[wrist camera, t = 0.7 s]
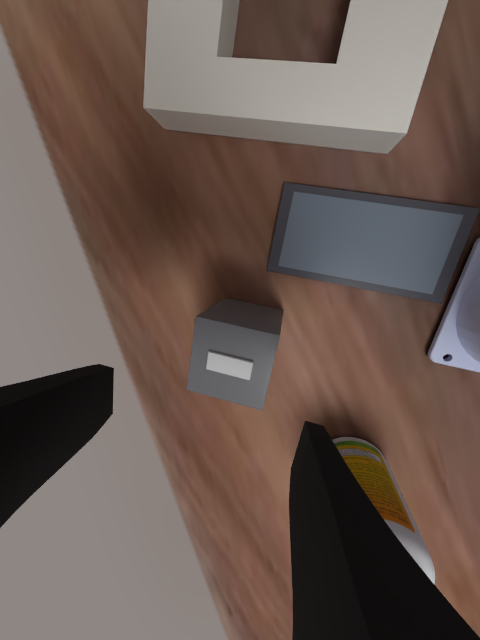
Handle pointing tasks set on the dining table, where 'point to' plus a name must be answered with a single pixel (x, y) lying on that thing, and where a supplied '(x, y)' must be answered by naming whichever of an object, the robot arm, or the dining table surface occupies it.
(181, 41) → the outlet plate
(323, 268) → the phone slab
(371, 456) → the supplement bottle
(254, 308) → the block
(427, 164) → the dining table surface
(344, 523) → the robot arm
